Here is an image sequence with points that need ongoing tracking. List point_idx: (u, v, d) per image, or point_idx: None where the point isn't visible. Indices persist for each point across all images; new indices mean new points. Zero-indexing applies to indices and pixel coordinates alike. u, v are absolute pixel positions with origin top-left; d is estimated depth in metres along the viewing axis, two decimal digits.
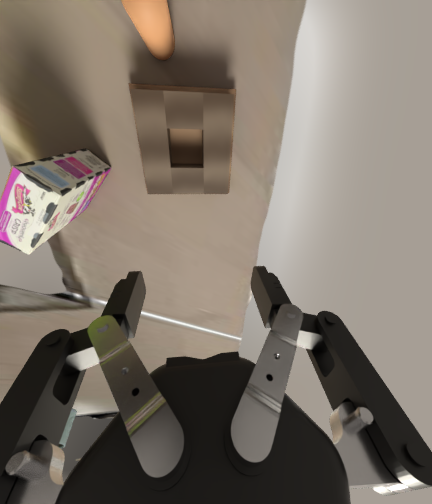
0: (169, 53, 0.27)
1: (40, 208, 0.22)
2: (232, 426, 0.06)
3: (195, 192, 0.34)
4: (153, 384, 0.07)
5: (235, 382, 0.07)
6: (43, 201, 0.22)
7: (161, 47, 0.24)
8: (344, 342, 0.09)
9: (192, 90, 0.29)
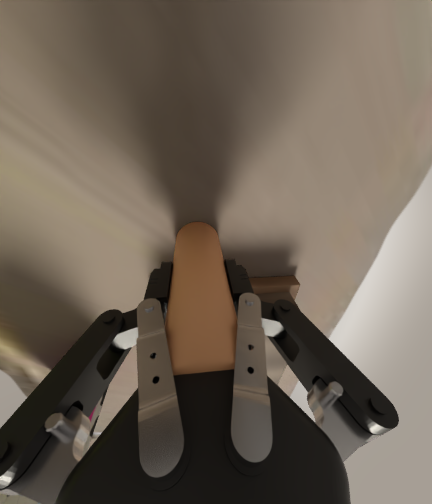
0: None
1: None
2: (232, 426, 0.06)
3: None
4: (172, 379, 0.07)
5: None
6: None
7: None
8: (301, 325, 0.09)
9: None
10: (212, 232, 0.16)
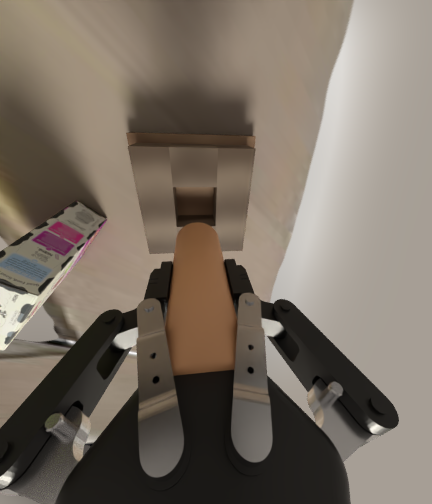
0: None
1: (13, 310, 0.17)
2: (232, 426, 0.06)
3: None
4: (172, 379, 0.07)
5: None
6: (16, 303, 0.17)
7: None
8: (301, 325, 0.09)
9: (203, 139, 0.24)
10: (212, 233, 0.16)
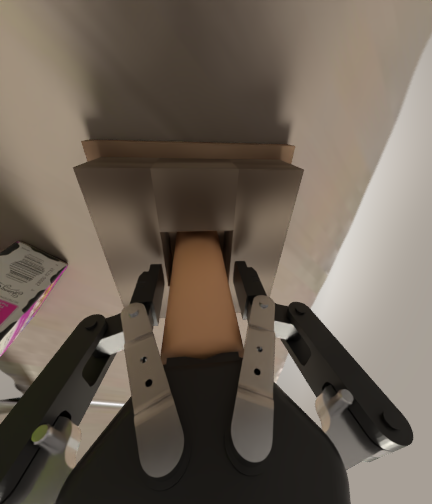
0: None
1: None
2: (232, 426, 0.06)
3: None
4: (166, 380, 0.07)
5: (235, 382, 0.07)
6: None
7: None
8: (316, 329, 0.09)
9: (210, 150, 0.15)
10: None
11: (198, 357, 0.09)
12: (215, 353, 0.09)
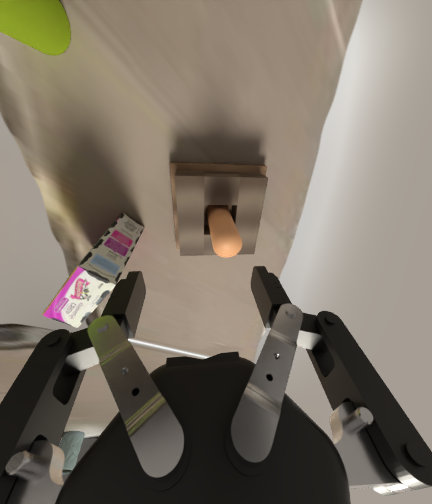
0: None
1: (96, 294, 0.24)
2: (232, 426, 0.06)
3: None
4: (153, 384, 0.07)
5: (235, 382, 0.07)
6: (100, 290, 0.24)
7: None
8: (344, 342, 0.09)
9: (227, 168, 0.31)
10: (225, 206, 0.34)
11: (226, 242, 0.25)
12: (232, 241, 0.25)
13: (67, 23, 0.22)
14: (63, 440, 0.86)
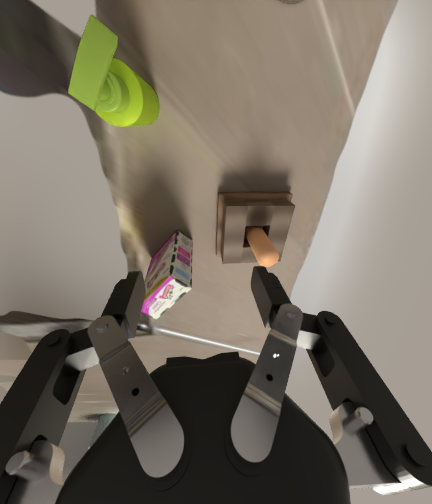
0: None
1: (176, 295, 0.34)
2: (232, 426, 0.06)
3: (257, 261, 0.46)
4: (153, 384, 0.07)
5: (235, 382, 0.07)
6: (180, 292, 0.34)
7: None
8: (344, 342, 0.09)
9: (262, 196, 0.41)
10: None
11: (267, 256, 0.35)
12: (272, 255, 0.35)
13: (158, 105, 0.31)
14: (100, 421, 0.98)
